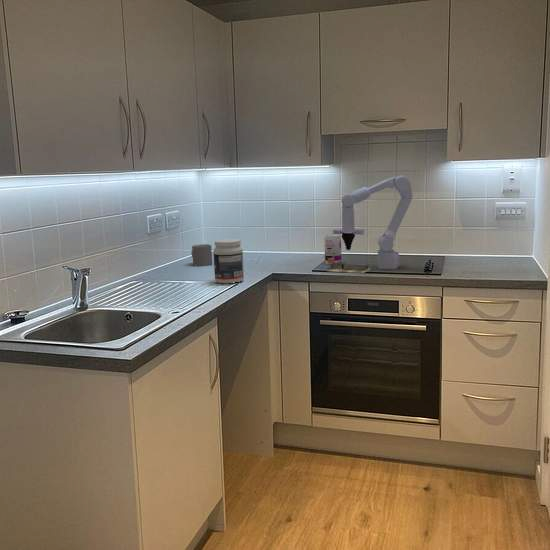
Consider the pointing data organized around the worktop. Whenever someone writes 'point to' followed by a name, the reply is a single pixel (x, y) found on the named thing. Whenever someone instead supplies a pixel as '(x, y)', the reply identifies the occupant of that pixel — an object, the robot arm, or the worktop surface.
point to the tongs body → (342, 266)
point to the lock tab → (331, 260)
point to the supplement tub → (228, 261)
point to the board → (349, 270)
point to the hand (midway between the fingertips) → (348, 249)
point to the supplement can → (333, 248)
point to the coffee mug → (202, 255)
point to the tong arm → (354, 266)
